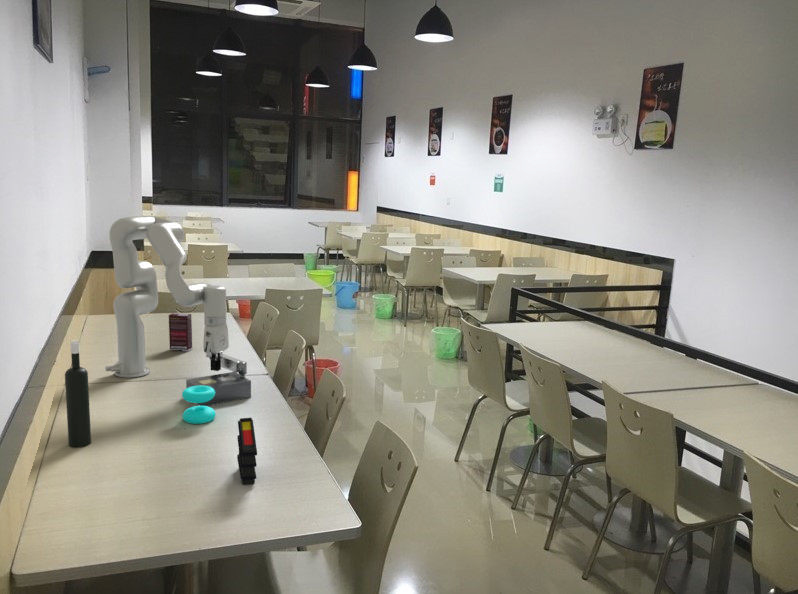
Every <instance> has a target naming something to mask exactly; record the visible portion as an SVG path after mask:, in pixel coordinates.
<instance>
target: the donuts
mask: <svg viewBox="0 0 798 594" xmlns="http://www.w3.org/2000/svg"><path fill="white" fill-rule="evenodd" d="M214 396H215V390H214V389H213V388H212V387H209V386H203V385H200V386H192V387H188V388H186V387H185V389H183V391H182V393H181V397H182V398H183V400H184V401H186V402H187V403H191V404H197V403H203V402H207V401H209V400H211V399H212V398H213V397H214ZM216 416H217V415H216V410H214V408H213V407H210V406H199V405H195V406H191V407H188V408H187V409H185V410H184V412H183V413H182V419H183V420H184V422H185V423H188V424H192V425H194V424H195V425H201V424H206V423H209V422H211V421H213V420H214V419H215V417H216Z"/></svg>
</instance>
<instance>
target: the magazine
mask: <svg viewBox="0 0 798 594" xmlns="http://www.w3.org/2000/svg"><path fill="white" fill-rule="evenodd" d="M237 426H238V427H237V429H238V435H237V446H238V454H237V455H236V456H237V457H236V459H237V465H238V470H239V475H240V481H241V484H242V485H244V486H245V485H254V484H255V482H256V481H255V480H256V479H257V474H256V467H257V466H258V465H257V458H256V456H258V450H257V442H256V433H255V427H254V420H253V418H252V417H245V418H244V417H242V418H239V420H237Z"/></svg>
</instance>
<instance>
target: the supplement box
mask: <svg viewBox="0 0 798 594" xmlns="http://www.w3.org/2000/svg"><path fill="white" fill-rule="evenodd" d="M192 323H193V322H192V313H178V312H177V313H176V312H173V313H172V312H171V313H170V314H168V332H169V333H168V335H169V337H168V339H169V351H170V350H182V351H181V352H189V350H190V351H191V349H192V350H193V330H192V329H193V326H192V325H193V324H192Z"/></svg>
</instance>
